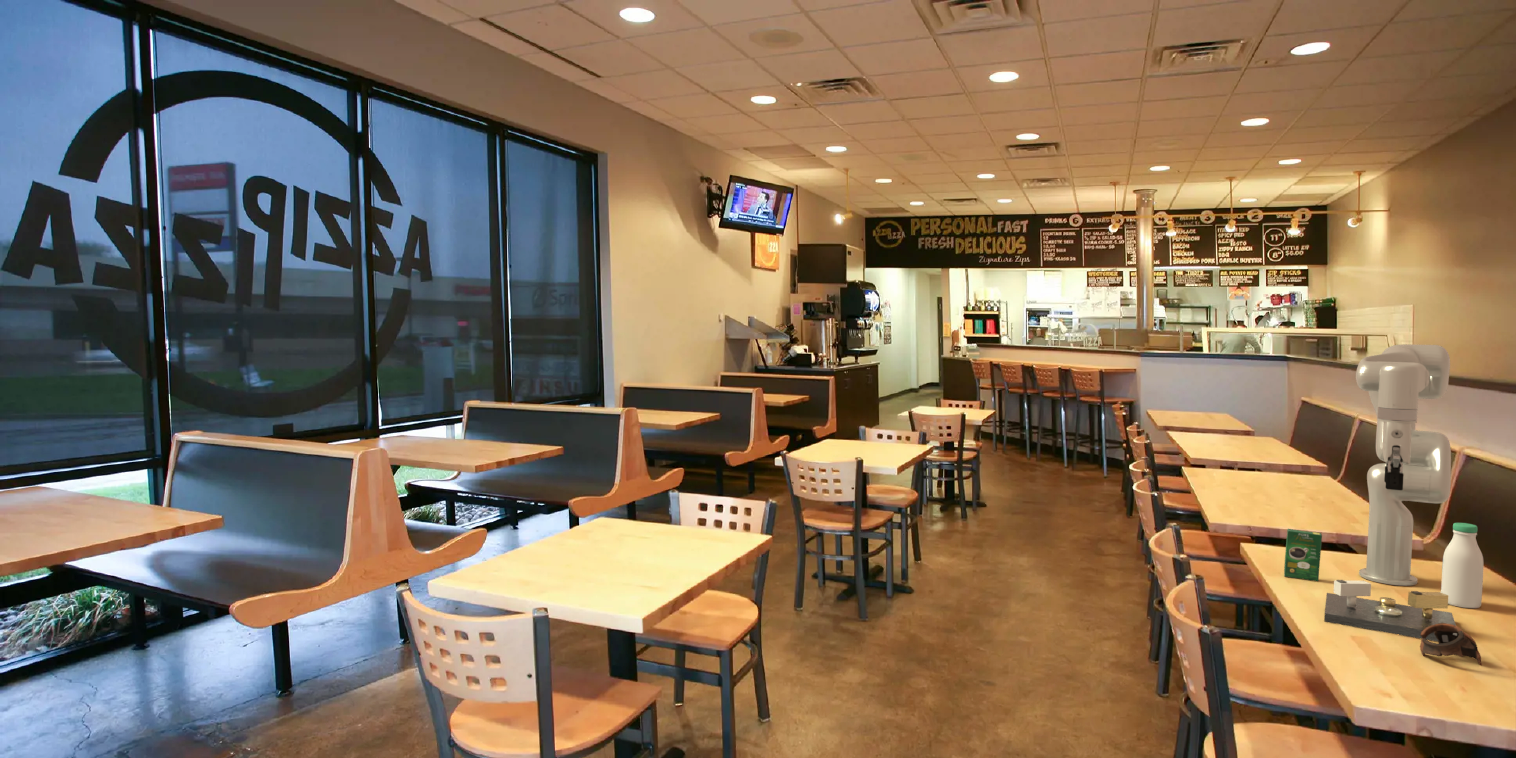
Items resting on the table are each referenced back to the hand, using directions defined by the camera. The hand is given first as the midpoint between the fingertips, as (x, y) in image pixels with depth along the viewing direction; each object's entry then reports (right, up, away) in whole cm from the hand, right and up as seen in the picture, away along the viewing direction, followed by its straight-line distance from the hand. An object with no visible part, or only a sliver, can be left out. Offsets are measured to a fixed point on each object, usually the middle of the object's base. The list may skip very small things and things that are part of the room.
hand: (1393, 486), depth 197 cm
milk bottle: (+22, -30, +6) cm, 38 cm away
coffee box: (-5, -29, +26) cm, 39 cm away
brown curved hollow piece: (-9, -33, -27) cm, 43 cm away
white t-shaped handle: (-12, -28, -2) cm, 31 cm away
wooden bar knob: (0, -29, -10) cm, 31 cm away
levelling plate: (-6, -31, -6) cm, 32 cm away
